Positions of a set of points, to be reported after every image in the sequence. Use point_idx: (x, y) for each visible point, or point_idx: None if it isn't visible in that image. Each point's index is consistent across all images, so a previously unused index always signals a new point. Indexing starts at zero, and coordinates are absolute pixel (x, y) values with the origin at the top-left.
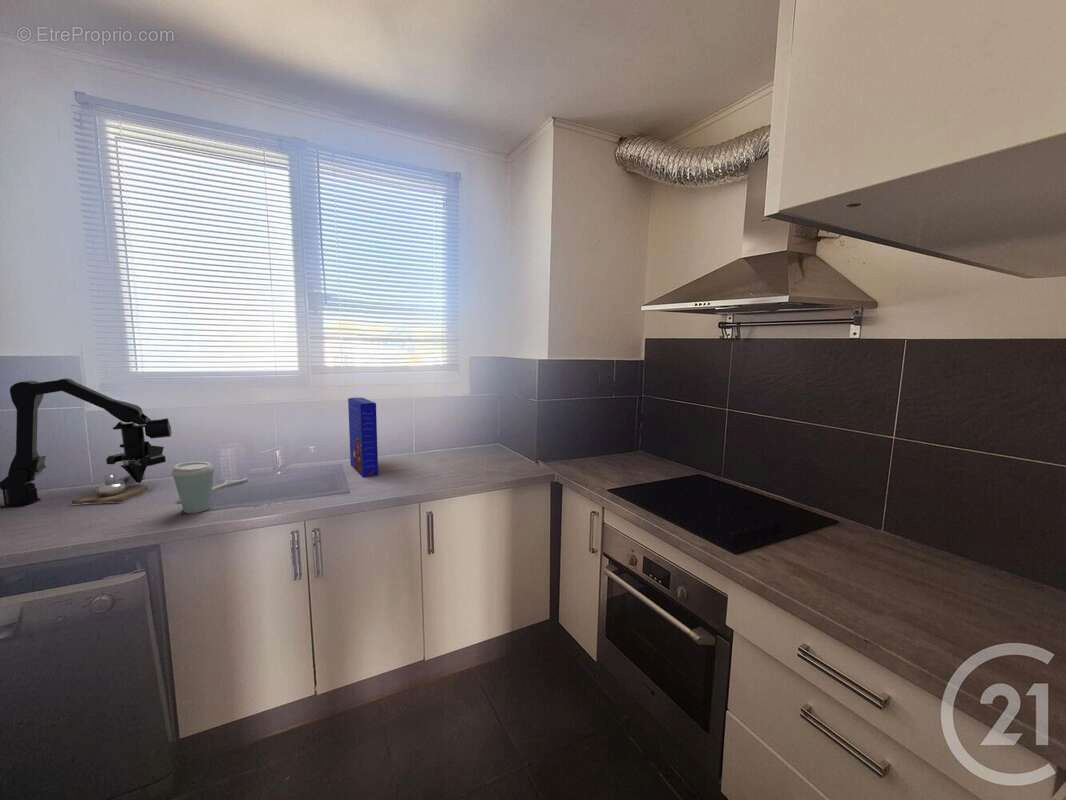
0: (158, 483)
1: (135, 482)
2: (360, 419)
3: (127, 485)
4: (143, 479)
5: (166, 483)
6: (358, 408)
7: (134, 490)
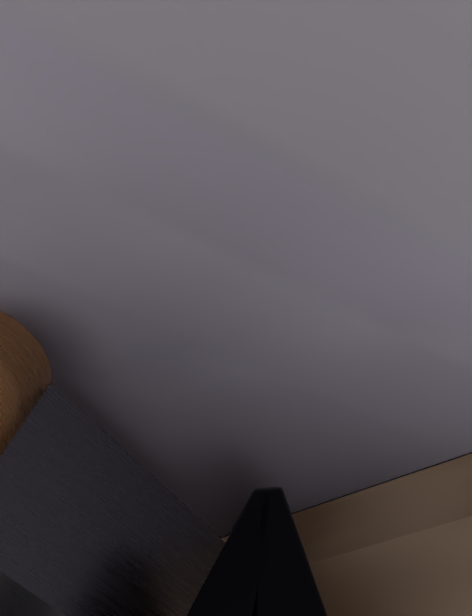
0: (223, 150)
1: (157, 483)
2: None
3: None
4: (41, 351)
5: (388, 70)
6: None
7: None
